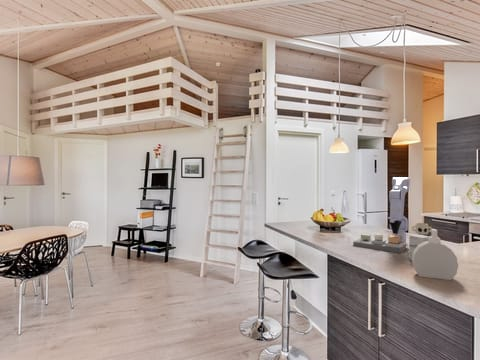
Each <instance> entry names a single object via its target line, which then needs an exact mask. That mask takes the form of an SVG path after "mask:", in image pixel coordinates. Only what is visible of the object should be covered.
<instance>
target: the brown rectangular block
mask: <svg viewBox="0 0 480 360" xmlns="http://www.w3.org/2000/svg"><path fill="white" fill-rule="evenodd" d="M401 241H402V236H399V235H392V234H391V235H390V236H388V237H387V242H391V243H399V242H401Z"/></svg>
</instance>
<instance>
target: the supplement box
mask: <svg viewBox="0 0 480 360" xmlns="http://www.w3.org/2000/svg"><path fill="white" fill-rule="evenodd" d="M408 236H409V241H408V250H409V251H408V260H410V261H412V255H413V251H414V250H415V248H416V247H417V246H418V245H419V244H421V243H423V242H425V241H428V238H429V237H430V236H428V235H426V236H424V235H419V234H418V233H416V234H409V235H408Z"/></svg>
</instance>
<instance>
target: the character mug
mask: <svg viewBox="0 0 480 360" xmlns="http://www.w3.org/2000/svg"><path fill="white" fill-rule="evenodd" d="M432 229H433V228H432V227H431V226H429V223H426V222H425V223H424V222H416V223H415V225H412V226H411V230H412V231H413V232H415V233H416V234H419V235H424V236H427V235H428V234H429V233H432Z"/></svg>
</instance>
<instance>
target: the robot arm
mask: <svg viewBox="0 0 480 360" xmlns="http://www.w3.org/2000/svg"><path fill="white" fill-rule="evenodd" d="M410 182H411V180H410V177H405V176H404V177H402V176H401V177H400V176H399V177H395V176H394V177H392V179H391V186H392V189H391V190H389V191H388V192H389V195H388V197H389V198H388V199H389V203H390V205H389V206H390V207H389V208H390V209H389V210H390V211H389V216H388V217H387V219H388V220H389V229H390V230H391V232H392V233H391V236H392V235H399V236H402V241H405V244H406V246H407V245H408V243H407V233H406V232H407V231H408V229H409V220H408V217H406V216H404V208H405V199H406V198H405V196H406V194H407V192H409V191H410V184H411V183H410Z"/></svg>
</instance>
